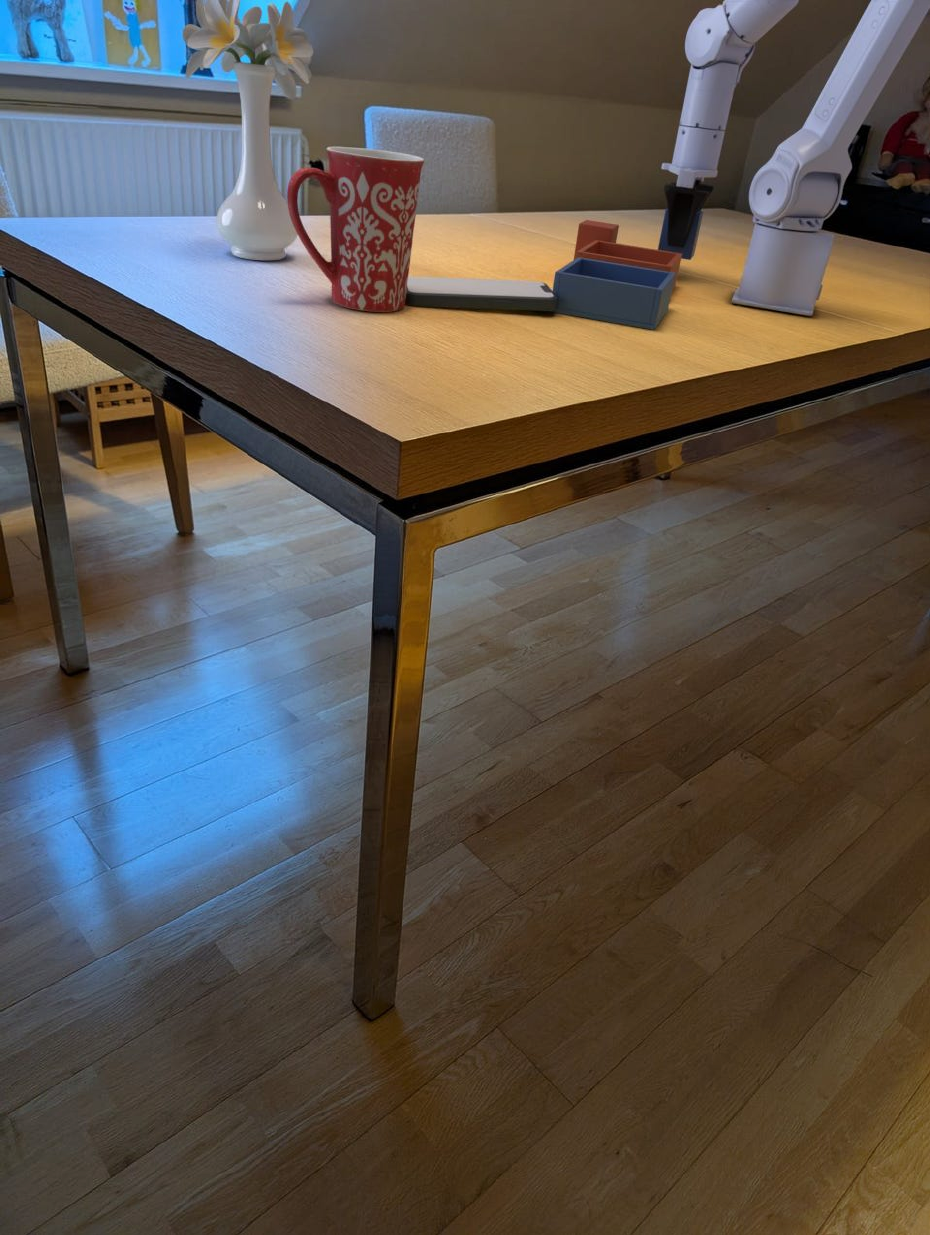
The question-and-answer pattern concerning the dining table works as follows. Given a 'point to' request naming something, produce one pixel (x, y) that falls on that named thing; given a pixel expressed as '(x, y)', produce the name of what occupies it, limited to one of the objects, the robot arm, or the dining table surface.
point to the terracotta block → (595, 233)
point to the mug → (365, 224)
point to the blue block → (690, 243)
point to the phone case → (480, 294)
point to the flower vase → (253, 114)
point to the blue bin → (613, 292)
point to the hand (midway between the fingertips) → (677, 243)
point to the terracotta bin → (632, 256)
